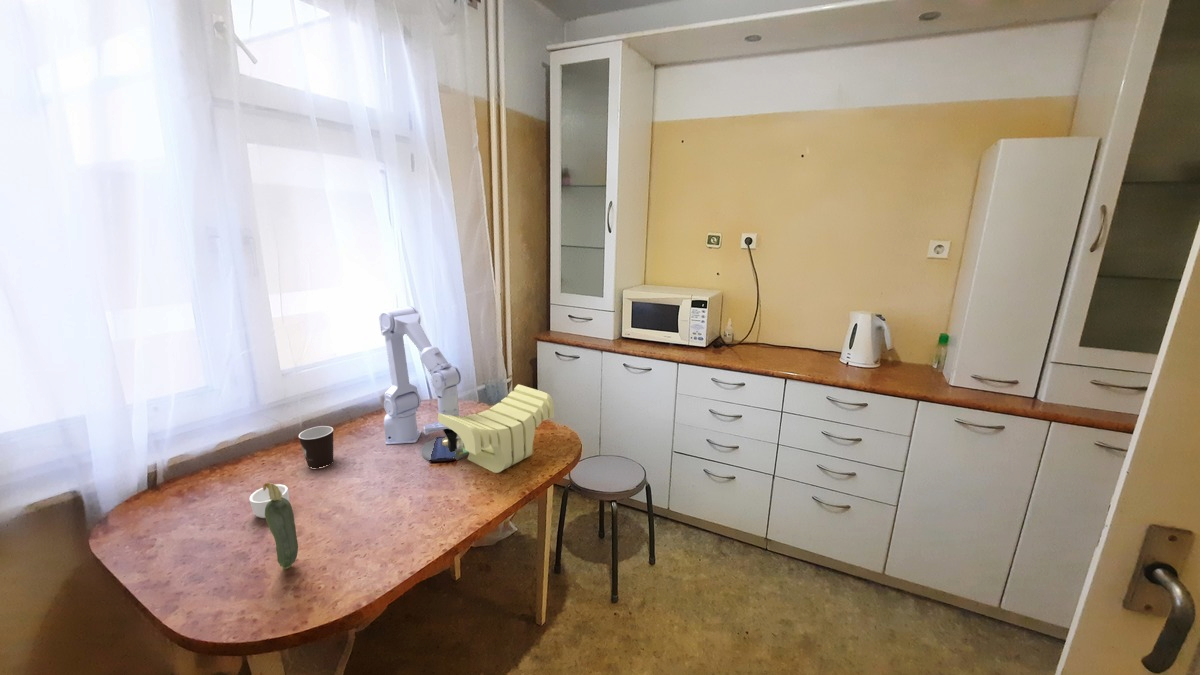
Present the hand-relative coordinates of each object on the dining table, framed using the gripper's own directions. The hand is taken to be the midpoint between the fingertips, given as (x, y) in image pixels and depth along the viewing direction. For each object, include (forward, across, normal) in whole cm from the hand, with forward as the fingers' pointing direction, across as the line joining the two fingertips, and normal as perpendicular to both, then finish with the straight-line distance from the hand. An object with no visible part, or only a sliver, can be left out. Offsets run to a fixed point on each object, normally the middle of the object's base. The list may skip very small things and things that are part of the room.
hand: (452, 450), depth 137 cm
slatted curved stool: (+3, +13, -7) cm, 15 cm away
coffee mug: (+3, -34, +19) cm, 39 cm away
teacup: (+3, -45, -3) cm, 45 cm away
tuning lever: (+1, +1, +4) cm, 4 cm away
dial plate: (+3, 0, +7) cm, 7 cm away
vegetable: (+3, -40, -29) cm, 49 cm away
